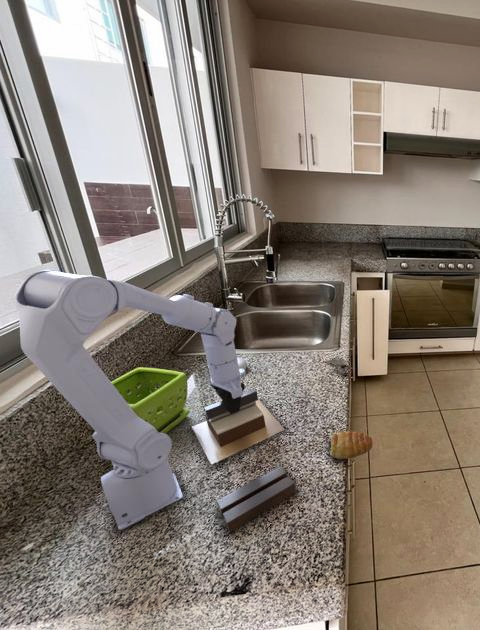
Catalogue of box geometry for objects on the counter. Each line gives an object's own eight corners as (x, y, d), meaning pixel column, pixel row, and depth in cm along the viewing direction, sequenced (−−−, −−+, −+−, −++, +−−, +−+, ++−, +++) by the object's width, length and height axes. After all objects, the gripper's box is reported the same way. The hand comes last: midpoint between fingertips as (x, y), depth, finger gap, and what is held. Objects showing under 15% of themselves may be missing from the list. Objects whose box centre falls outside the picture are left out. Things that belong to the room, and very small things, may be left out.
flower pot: (153, 407, 89) (139, 365, 85) (199, 415, 87) (188, 372, 82) (96, 445, 77) (77, 398, 72) (149, 455, 74) (133, 407, 70)
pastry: (371, 436, 82) (371, 423, 80) (373, 457, 76) (373, 444, 74) (331, 440, 80) (330, 427, 79) (329, 463, 74) (328, 449, 72)
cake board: (211, 466, 72) (211, 464, 72) (191, 428, 83) (191, 426, 82) (285, 431, 83) (285, 429, 82) (259, 401, 93) (259, 399, 93)
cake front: (220, 447, 76) (217, 433, 75) (214, 436, 79) (210, 422, 78) (265, 426, 83) (263, 413, 81) (258, 417, 86) (256, 404, 84)
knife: (212, 437, 79) (205, 410, 76) (210, 433, 80) (203, 407, 77) (261, 416, 86) (256, 391, 83) (258, 413, 87) (254, 388, 84)
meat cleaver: (343, 358, 116) (328, 361, 115) (343, 355, 116) (328, 357, 114) (349, 375, 106) (332, 378, 104) (348, 371, 105) (332, 374, 104)
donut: (254, 371, 107) (237, 360, 113) (252, 361, 106) (235, 351, 111) (221, 385, 100) (205, 373, 105) (219, 375, 98) (202, 363, 104)
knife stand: (229, 533, 59) (227, 523, 58) (218, 510, 63) (216, 500, 62) (296, 492, 67) (294, 483, 66) (282, 474, 71) (281, 465, 70)
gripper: (253, 365, 74) (262, 416, 79) (230, 342, 83) (240, 389, 88) (217, 377, 69) (229, 430, 74) (197, 351, 79) (209, 400, 84)
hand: (233, 409), depth 81 cm, fingers closed on knife, 2 cm apart
